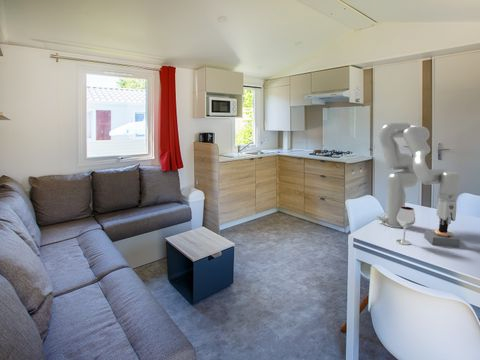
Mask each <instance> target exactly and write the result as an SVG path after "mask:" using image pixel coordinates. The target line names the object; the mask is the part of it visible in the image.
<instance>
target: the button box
mask: <svg viewBox="0 0 480 360" xmlns="http://www.w3.org/2000/svg"><path fill="white" fill-rule="evenodd" d="M449 232H450V233H451V235H450V236H448V237H440V236H437V235H436V234H435V233H434V230H427V229H425V230H424V234H423V235H424V237H423V238H424V239H425V240H426V241H428V243H430V245H431V246H439V247H440V246H441V247H442V246H443V247H451V248H455V247H456V248H460V245H461V238H459V237H458V236H457V235H456V234H454V233H452V232H451V231H449Z"/></svg>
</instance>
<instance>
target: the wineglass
mask: <svg viewBox="0 0 480 360" xmlns="http://www.w3.org/2000/svg"><path fill="white" fill-rule="evenodd" d="M397 221H398V223H399V224H400V225H401V226H402V227H403V231H402V232H403V233H402V234H403V235H402V239H396V243H397V244H400V245H403V246H404V245H405V246H409V245H411V242H410V241H409V240H406V239H405V237H406V230H407V228H409V227H411V226H412V225H414V224H415V223H416V214H415V209H414V207H409V206H405V207H401V208H400V210H399V212H398V215H397Z"/></svg>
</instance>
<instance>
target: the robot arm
mask: <svg viewBox="0 0 480 360" xmlns="http://www.w3.org/2000/svg"><path fill="white" fill-rule="evenodd" d="M378 138H379V142H380V144H381V148H382V151H383V156H384V160H385V164H386V167H387V170H391V171H395V172H392V173H390V174H389V175H388V176H387V177H386V178H387V179H386V185H387V195H386V196H387V197H386V206H385V214H384V215H383V216H376V220H377V221H381V223H382V225H384V226H386V227H390V228H397V229H402V228H403V227H402V226H401V225H400V224H399V223H398V221H397V215H398V212H399V210H400V208H401V207H406V199H407V197H406V195H407V193H406V191H405V188H406V189H407V188H412V187H415V186H416V185H417V184H418V181H419V182H420V183H421V184H423V185H426V186H427V185H430V186H431V185H439V191H438V195H437V197H438V201H437V202H438V203H437V207H436V216H437V217H438V218H439V220H438V221H439V224H438V229H439V232H443V233H447V231H448V229H449V225H450V224H451V223H452V222H455V221H456V219H457V218H456V216H457V215H456V214H457V200H458V195H459V193H458V192H459V186H460V179H461V174H460V173H459V172H457V171H448V170H444V169H440V168H432V169H429V167H428V165H427V162H426V156H427V155H428V154H429V153H430V152H431V147H430V145H429V144H428V142H427V141H428V140H429V138H430V130H429V129H428V128H427V127H426V126H423V125H422V126H421V125H417V124H413V123H408V122H389V123H386V124H384V125H383V126H382V127H381V129H380V131H379V133H378ZM396 138H400V139H401V138H403V140H404V141H405V143H406V145H407V146H408V149H409V151H410V153H411V154H412V156H411V155H410V154H408V153H401V150H400V147H399V146H400V145H399V144H398V141H396V140H395V139H396ZM403 229H404V228H403Z"/></svg>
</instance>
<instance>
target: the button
mask: <svg viewBox="0 0 480 360" xmlns="http://www.w3.org/2000/svg"><path fill="white" fill-rule="evenodd" d="M433 231H434V233H435V234H436V235H437V236H440V237H448V236H450V235H451V233H452V232H451V231H448V230H447V233H443V232H439V228H438V229H434V230H433ZM450 232H451V233H450Z"/></svg>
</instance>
